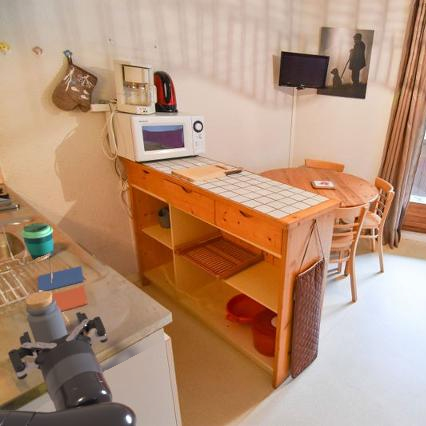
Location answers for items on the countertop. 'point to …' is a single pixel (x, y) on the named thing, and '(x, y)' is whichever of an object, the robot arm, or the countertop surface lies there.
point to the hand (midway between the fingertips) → (53, 325)
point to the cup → (38, 239)
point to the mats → (62, 279)
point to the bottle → (44, 317)
